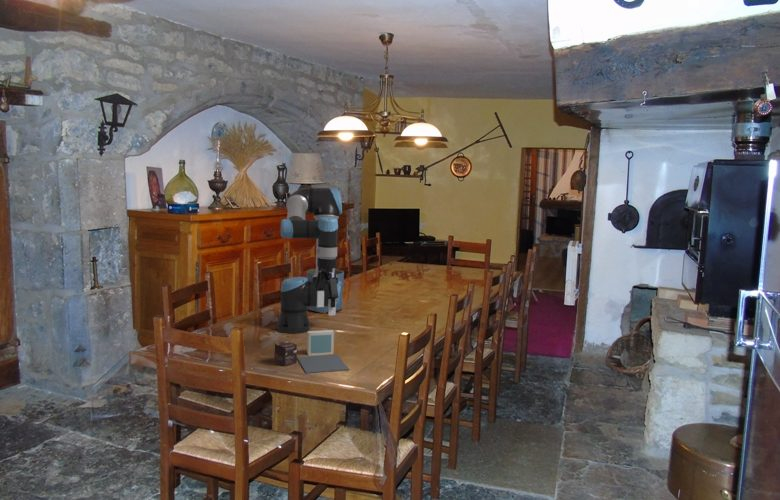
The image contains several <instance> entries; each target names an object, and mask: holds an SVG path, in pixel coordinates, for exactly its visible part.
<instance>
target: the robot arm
mask: <svg viewBox="0 0 780 500" xmlns="http://www.w3.org/2000/svg"><path fill="white" fill-rule="evenodd" d="M285 203H286V206H285V207H286V209H287V213H286V215H287V216H286V218H284V219H283V218H282V220H281V221H280V237H281V238H283V239H285V238H286V239H289V240H290V239H313V240H314V239H316V245H315V246H316V247H315V249H316V250H315V251H316V252H315V269H316V273H315V275H314V276H313V277H312V281H308V279H307V276H296V277H295V276H294V277H288V278H286V279H283V280H282V281H281V285H280V313H279V317H278V320H277V322H276V330H277V331H278V332H280V333H286V334H287V333H288V334H301V333H305V332H307V331H311V321H310V318H309V315H308V309H307V307H310V306H311V307H328V312H327V315H328V316H336V312H337V311H336V305H337V304H338V302H339V296H340V289H341V281H338V276H337V275H336V273H335V269H337V266H338V259H337V257H338V236H339V235H338V234H339V233H338V231H339V221H338V220H339V218H340V215H342V214H343V203H342V195H341V191H340V190H339V189H338V188H331V187H326V188H325V187H303V188H300V189H298V190H295V191H293V192H292V193H291V194H290V195H289V196H288V198H287V200H286V202H285ZM306 214H313V218H314V219H306Z"/></svg>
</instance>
